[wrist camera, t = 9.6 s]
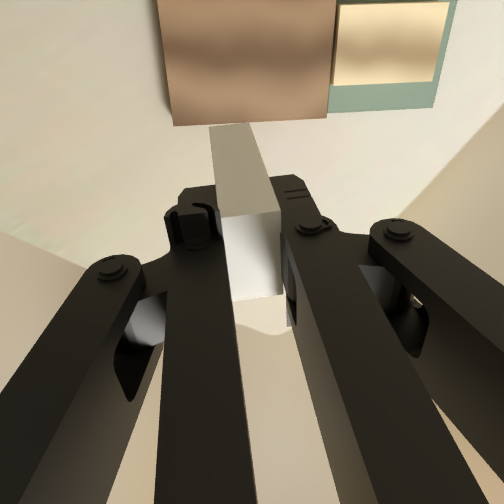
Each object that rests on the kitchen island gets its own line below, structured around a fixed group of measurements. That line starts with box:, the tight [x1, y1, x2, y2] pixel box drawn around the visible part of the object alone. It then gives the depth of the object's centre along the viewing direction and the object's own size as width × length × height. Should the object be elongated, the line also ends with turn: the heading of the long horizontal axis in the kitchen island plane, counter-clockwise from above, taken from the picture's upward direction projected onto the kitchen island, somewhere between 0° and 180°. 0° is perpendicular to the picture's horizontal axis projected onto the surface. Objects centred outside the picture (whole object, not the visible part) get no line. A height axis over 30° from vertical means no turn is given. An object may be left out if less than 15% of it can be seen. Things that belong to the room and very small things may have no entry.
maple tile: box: [329, 1, 450, 86], centre depth 34 cm, size 6×9×2 cm, turn 91°
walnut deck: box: [157, 0, 336, 126], centre depth 34 cm, size 12×14×2 cm
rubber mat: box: [327, 0, 457, 113], centre depth 36 cm, size 12×10×1 cm
